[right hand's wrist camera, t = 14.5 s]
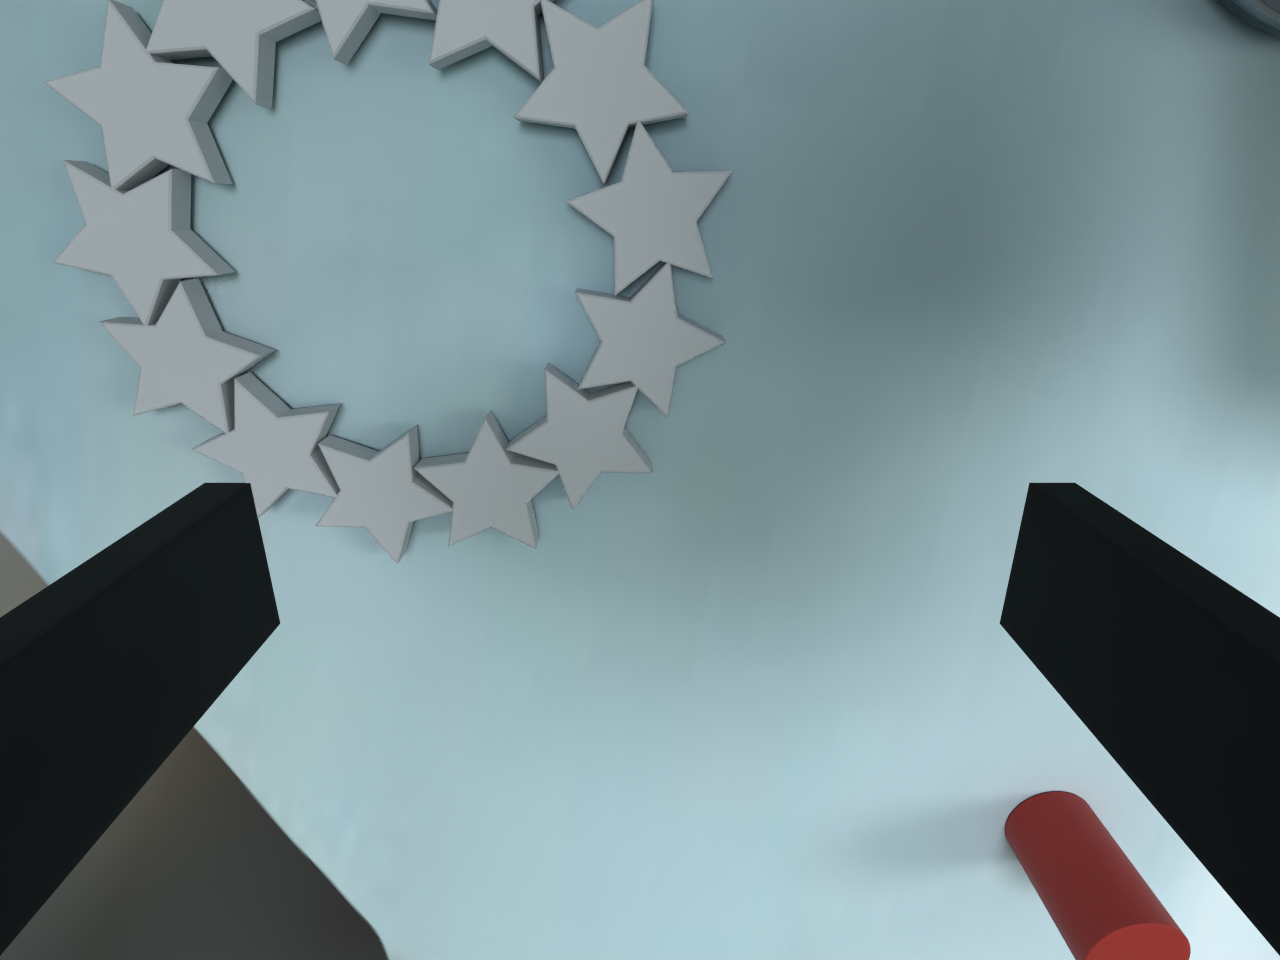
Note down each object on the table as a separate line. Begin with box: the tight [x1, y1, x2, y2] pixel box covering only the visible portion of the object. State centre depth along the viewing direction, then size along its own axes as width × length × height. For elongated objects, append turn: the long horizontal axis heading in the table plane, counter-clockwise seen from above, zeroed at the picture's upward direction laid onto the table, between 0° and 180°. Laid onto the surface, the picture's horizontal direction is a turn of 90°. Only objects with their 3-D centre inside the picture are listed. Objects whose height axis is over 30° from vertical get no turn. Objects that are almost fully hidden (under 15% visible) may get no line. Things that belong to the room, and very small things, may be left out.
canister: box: [1005, 792, 1190, 960], centre depth 42 cm, size 6×6×9 cm
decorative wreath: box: [44, 0, 732, 564], centre depth 33 cm, size 30×2×30 cm
